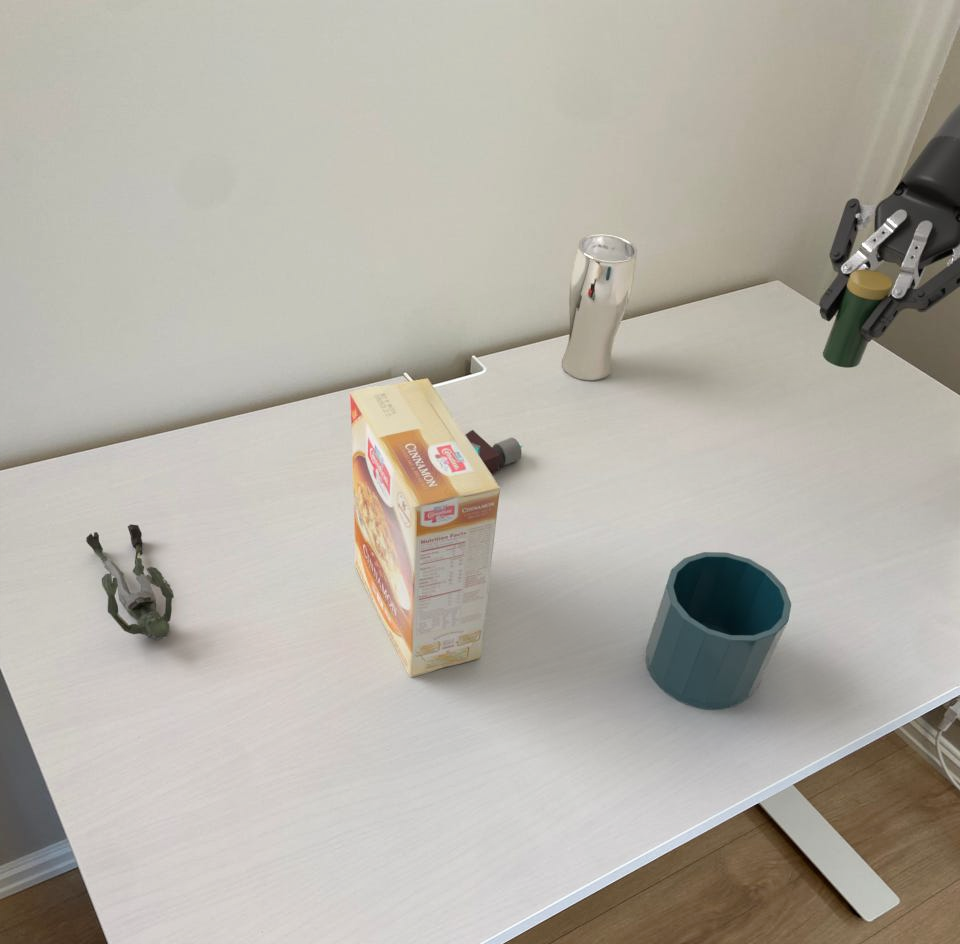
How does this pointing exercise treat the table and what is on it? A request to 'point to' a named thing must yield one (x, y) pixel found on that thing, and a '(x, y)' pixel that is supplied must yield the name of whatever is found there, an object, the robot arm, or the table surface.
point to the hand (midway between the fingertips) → (844, 326)
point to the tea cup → (716, 629)
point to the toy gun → (495, 451)
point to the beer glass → (597, 303)
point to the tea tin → (855, 317)
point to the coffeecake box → (422, 523)
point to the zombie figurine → (137, 603)
